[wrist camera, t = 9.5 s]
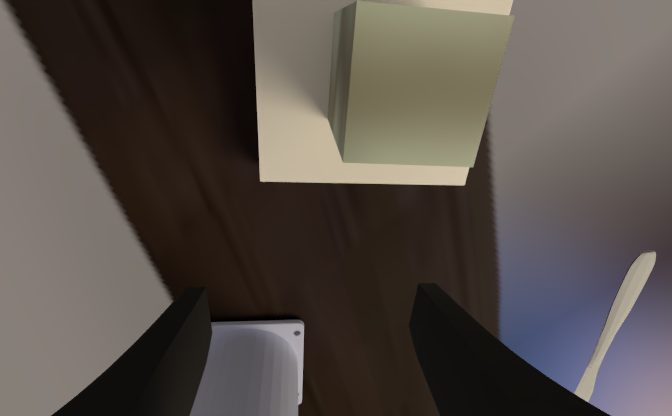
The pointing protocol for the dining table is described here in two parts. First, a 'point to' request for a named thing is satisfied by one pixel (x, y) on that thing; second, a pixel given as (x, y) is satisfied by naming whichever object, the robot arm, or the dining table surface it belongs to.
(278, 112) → the base block
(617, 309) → the butter knife
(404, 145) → the stacking block
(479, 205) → the dining table surface
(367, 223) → the dining table surface
